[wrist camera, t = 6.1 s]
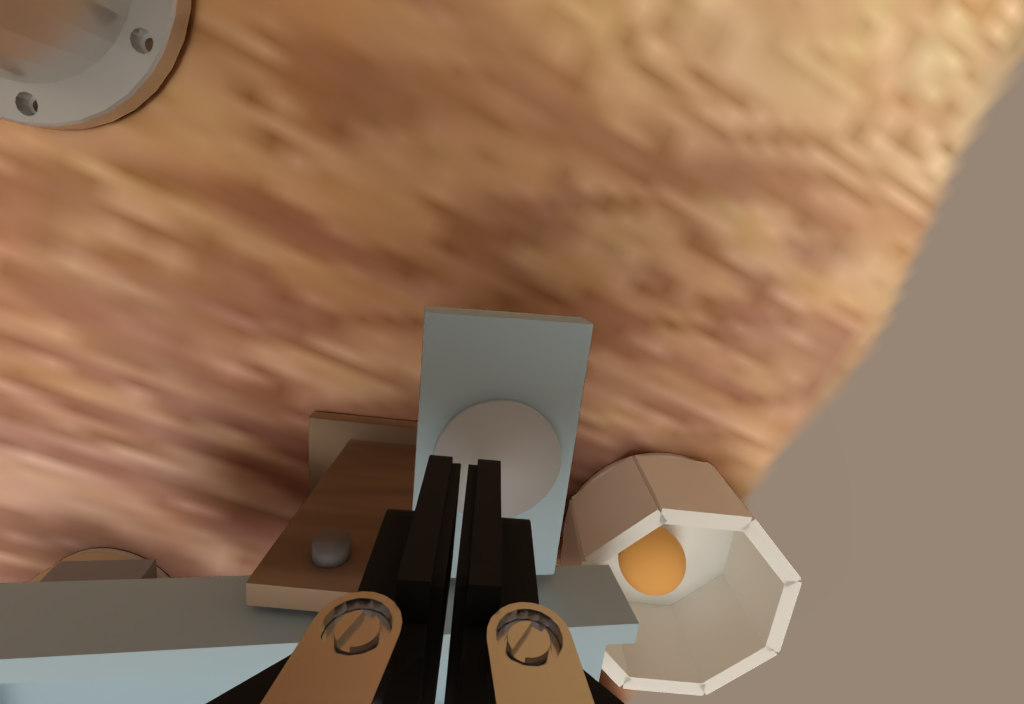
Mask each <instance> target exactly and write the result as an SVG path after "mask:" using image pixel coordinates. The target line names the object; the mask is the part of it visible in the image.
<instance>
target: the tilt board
mask: <svg viewBox="0 0 1024 704" xmlns="http://www.w3.org/2000/svg"><path fill="white" fill-rule="evenodd" d="M593 325H594V324H592V323H591V322H589V321H588V320H587V319H585V318H584V317H574V316H560V315H547V314H533V313H520V312H507V311H493V310H480V309H466V308H453V307H439V306H426V305H425V314H424V330H423V345H422V361H421V377H420V393H419V409H418V425H417V440H416V456H415V472H414V488H413V504H412V510H413V511H415V508H416V504H417V500H418V496H419V493H420V489H421V485H422V482H423V478H424V474H425V470H426V467H427V463H428V459H429V456H430V455H439V456H451V457H453V463H460V464H461V472H460V484H459V495H458V506H457V517H456V528H455V539H454V550H453V561H452V571H451V579H450V587H449V595H448V603H447V611H446V619H445V627H444V635H443V643H442V651H441V659H440V667H439V675H438V683H437V691H436V699H435V704H444V699H445V689H446V678H447V667H448V656H449V646H450V635H451V624H452V614H453V603H454V592H455V582H456V573H457V564H458V555H459V546H460V537H461V528H462V519H463V510H464V500H465V491H466V482H467V473H468V464H472V465H477V464H478V459H486V460H498V461H501V517H504V518H517V519H529V520H530V522H531V529H532V539H533V549H534V558H535V568H536V578H537V588H538V598H539V605H542V606H545V607H547V608H548V609H550V610H552V611H553V612H555V613H556V614H557V615H558V616H559V617H560V618H561V619H562V620H563V621H564V622H565V623H566V625H567V627H568V629H569V631H570V633H571V636H572V639H573V642H574V644H575V647H576V650H577V653H578V656H579V659H580V662H581V665H582V668H583V669H584V670H585V671H586V672H587V673H588V674H590V675H591V676H592V677H593V678H594V679H595V680H597V681H598V682H599V678H600V673H601V668H602V663H603V658H604V653H605V648H606V645H612V644H627V643H635V640H636V636H637V631H638V627H639V622H638V620H637V618H636V616H635V614H634V613H633V611H632V609H631V607H630V605H629V603H628V601H627V599H626V597H625V595H624V593H623V591H622V589H621V588H620V586H619V584H618V582H617V580H616V578H615V576H614V574H613V572H612V570H611V568H610V566H609V565H581V566H555V565H556V559H557V553H558V546H559V540H560V534H561V527H562V521H563V515H564V508H565V502H566V496H567V489H568V483H569V477H570V470H571V464H572V458H573V451H574V445H575V439H576V432H577V426H578V420H579V413H580V407H581V401H582V394H583V388H584V382H585V375H586V369H587V363H588V356H589V350H590V344H591V337H592V331H593ZM249 578H250V576H219V577H186V578H157V568H156V559H134V560H92V561H60V562H59V563H58V564H57V565H56V566H55V567H54V568H52V569H51V570H50V571H49V572H48V573H47V574H46V575H45V576H44V577H43V578H42V579H41V580H40V581H39V582H22V583H0V704H206V703H208V702H209V701H211V700H213V699H215V698H216V697H218V696H220V695H221V694H223V693H225V692H227V691H228V690H230V689H232V688H234V687H235V686H237V685H239V684H240V683H242V682H244V681H246V680H247V679H249V678H251V677H253V676H254V675H256V674H258V673H260V672H261V671H263V670H265V669H266V668H268V667H270V666H272V665H273V664H275V663H277V662H279V661H280V660H282V659H284V658H285V657H287V656H289V655H291V654H292V653H293V651H294V650H295V648H296V646H297V645H298V643H299V642H300V640H301V639H302V637H303V635H304V634H305V632H306V631H307V629H308V628H309V626H310V624H311V623H312V621H313V620H314V618H315V617H316V615H317V614H318V613H319V612H316V611H305V610H294V609H283V608H272V607H261V606H250V605H247V604H246V582H247V580H248V579H249Z"/></svg>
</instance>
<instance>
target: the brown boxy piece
mask: <svg viewBox="0 0 1024 704" xmlns="http://www.w3.org/2000/svg"><path fill="white" fill-rule="evenodd" d="M417 425H418V422H414V421H405V420H395V419H385V418H375V417H366V416H356V415H346V414H336V413H327V412H317V411H315V412H314V413H313V414H312V415H311V416H310V417H309V496H308V498H307V499H306V501H305V502H304V503H303V505H302V506H301V507H300V509H299V510H298V512H297V513H296V514H295V516H294V517H293V518H292V520H291V521H290V523H289V524H288V525H287V527H286V528H285V530H284V531H283V532H282V534H281V535H280V536H279V538H278V539H277V541H276V542H275V543H274V545H273V546H272V547H271V549H270V550H269V552H268V553H267V554H266V556H265V557H264V558H263V560H262V561H261V563H260V564H259V565H258V567H257V568H256V569H255V571H254V572H253V574H252V575H251V576H250V578H249V579H248V580H247V582H246V604H247V605H250V606H261V607H272V608H283V609H294V610H305V611H316V612H320V611H321V610H322V608H323V607H324V606H326V605H327V604H328V603H330V602H331V601H333V600H334V599H336V598H338V597H341V596H343V595H346V594H348V593H354V592H357V591H358V589H359V586H360V583H361V580H362V577H363V575H364V572H365V569H366V566H367V563H368V561H369V558H370V555H371V552H372V549H373V547H374V544H375V541H376V538H377V535H378V533H379V530H380V527H381V524H382V522H383V519H384V516H385V513H386V511H387V510H388V509H400V510H412V504H413V488H414V472H415V456H416V440H417Z"/></svg>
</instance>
